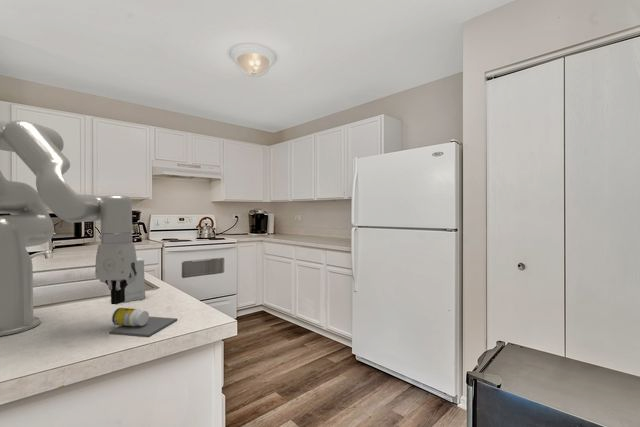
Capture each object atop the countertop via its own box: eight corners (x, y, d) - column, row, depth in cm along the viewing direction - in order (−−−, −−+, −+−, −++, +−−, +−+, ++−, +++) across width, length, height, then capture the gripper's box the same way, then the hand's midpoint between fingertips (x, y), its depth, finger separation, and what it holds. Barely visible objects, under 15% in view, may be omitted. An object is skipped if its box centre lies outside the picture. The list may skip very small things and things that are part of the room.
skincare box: (142, 295, 119) (142, 257, 119) (145, 299, 114) (145, 259, 114) (116, 299, 114) (116, 259, 113) (118, 303, 109) (118, 261, 109)
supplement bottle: (126, 308, 91) (151, 310, 90) (121, 325, 90) (147, 327, 88) (114, 306, 87) (140, 308, 85) (108, 324, 85) (135, 326, 84)
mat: (109, 333, 83) (109, 331, 83) (142, 317, 95) (142, 315, 95) (148, 337, 81) (148, 334, 81) (177, 320, 93) (177, 318, 93)
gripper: (82, 240, 86) (83, 305, 86) (129, 240, 83) (130, 308, 84) (105, 237, 93) (106, 297, 93) (149, 238, 90) (150, 300, 91)
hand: (118, 302), depth 88 cm, fingers closed
